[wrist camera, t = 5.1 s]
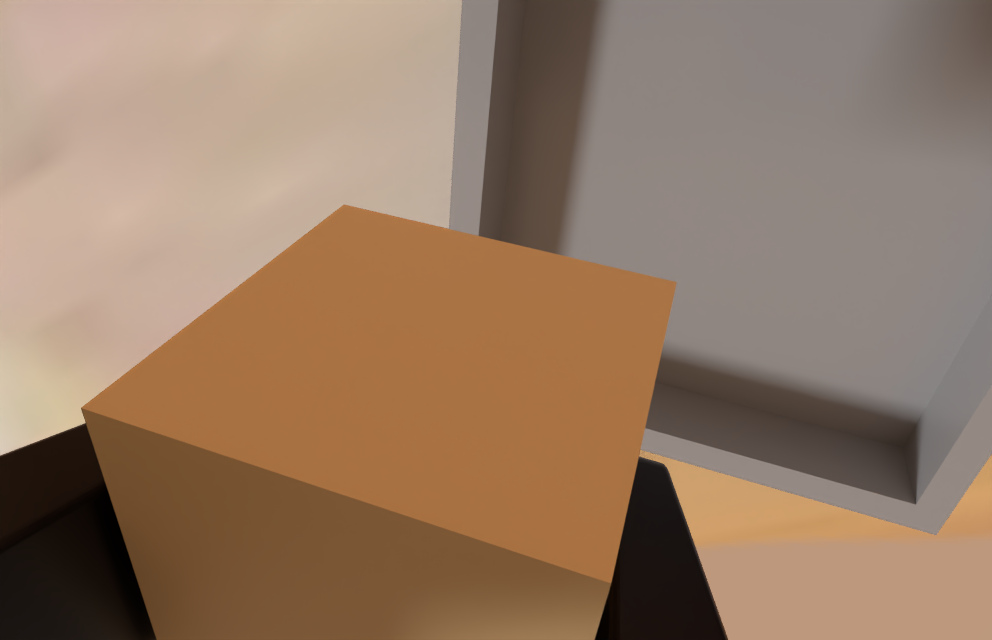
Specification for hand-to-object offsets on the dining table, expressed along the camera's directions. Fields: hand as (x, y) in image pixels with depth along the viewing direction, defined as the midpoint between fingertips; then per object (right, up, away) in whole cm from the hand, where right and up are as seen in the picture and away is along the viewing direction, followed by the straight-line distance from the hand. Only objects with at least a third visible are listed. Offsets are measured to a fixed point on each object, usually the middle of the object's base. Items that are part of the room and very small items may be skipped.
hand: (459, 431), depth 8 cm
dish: (+6, +4, +7) cm, 10 cm away
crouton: (0, +1, +1) cm, 1 cm away
